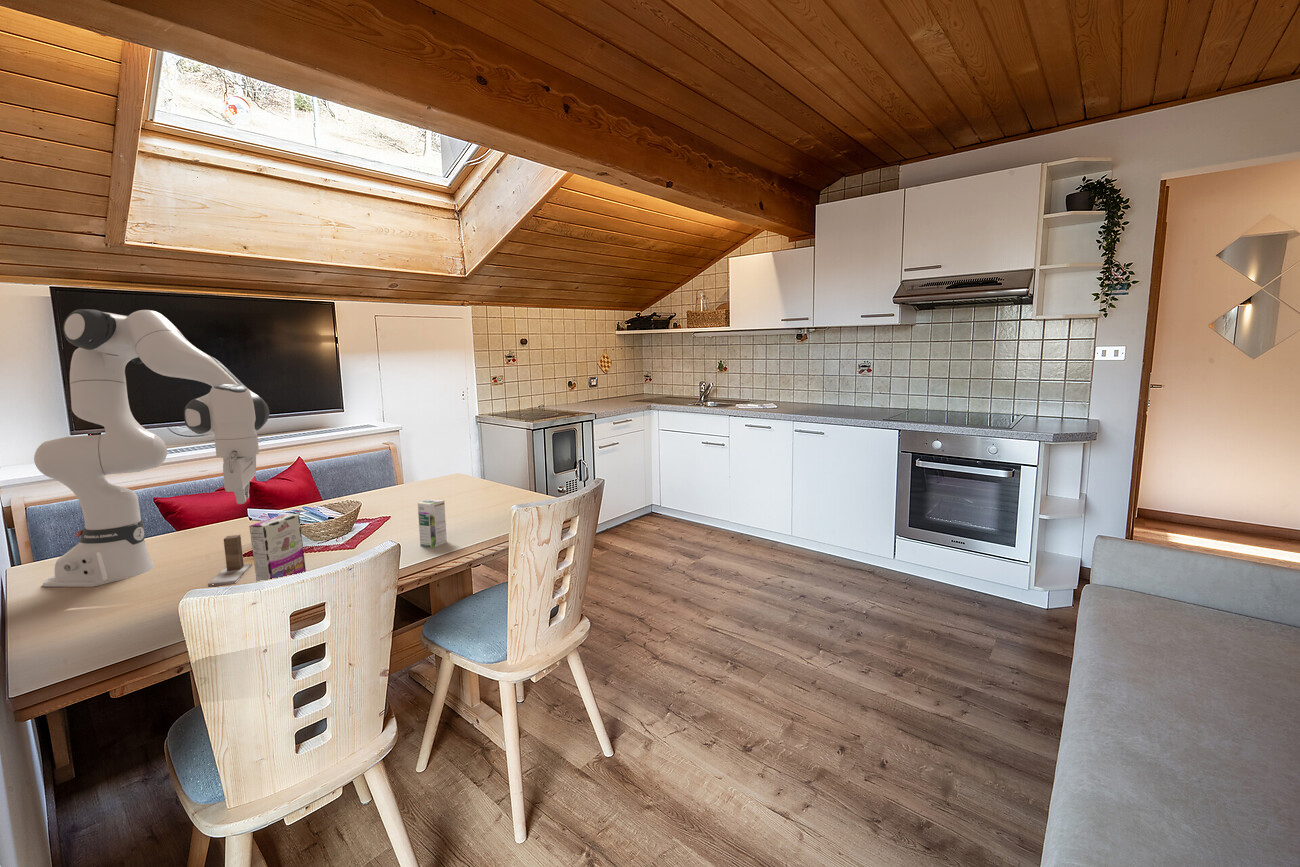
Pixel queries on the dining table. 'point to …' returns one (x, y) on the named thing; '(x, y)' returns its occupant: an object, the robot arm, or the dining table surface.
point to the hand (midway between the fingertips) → (243, 501)
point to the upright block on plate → (231, 562)
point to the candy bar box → (277, 547)
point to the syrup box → (432, 523)
